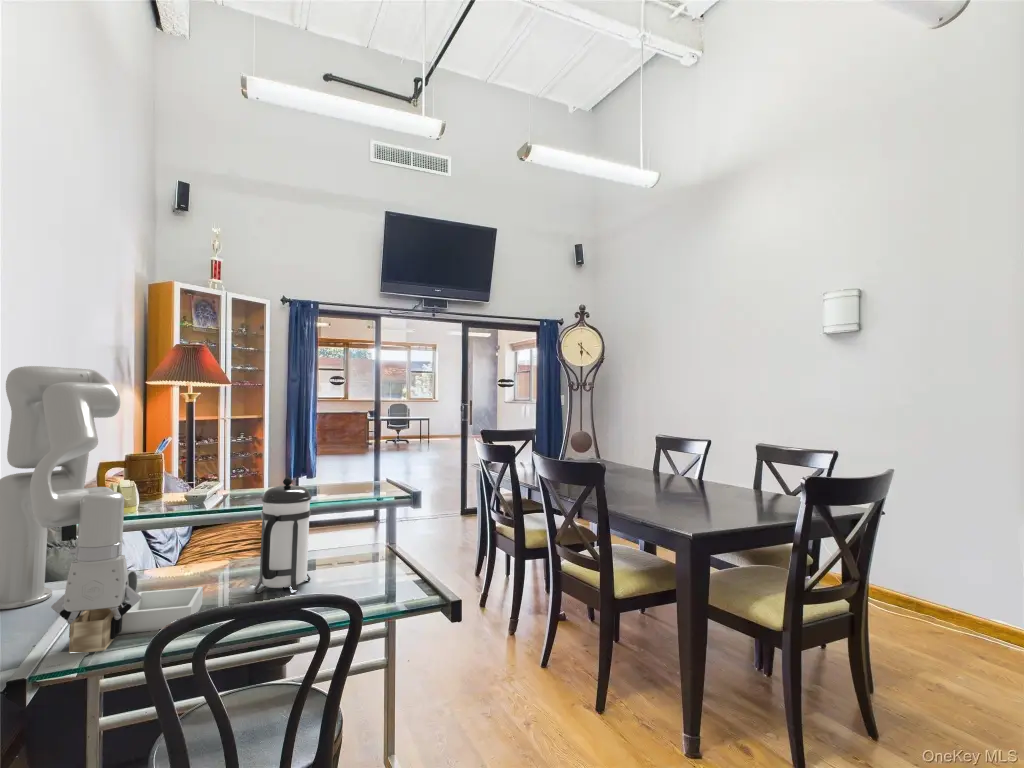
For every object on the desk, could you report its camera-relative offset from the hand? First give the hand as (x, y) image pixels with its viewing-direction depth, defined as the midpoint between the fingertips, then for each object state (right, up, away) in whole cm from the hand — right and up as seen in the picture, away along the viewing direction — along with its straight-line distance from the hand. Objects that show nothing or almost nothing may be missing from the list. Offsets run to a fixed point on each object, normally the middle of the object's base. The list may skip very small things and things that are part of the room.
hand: (95, 637), depth 113 cm
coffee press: (+25, -3, +34) cm, 42 cm away
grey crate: (+6, -2, +13) cm, 14 cm away
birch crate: (0, -1, 0) cm, 1 cm away
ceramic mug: (-12, -2, +20) cm, 24 cm away
